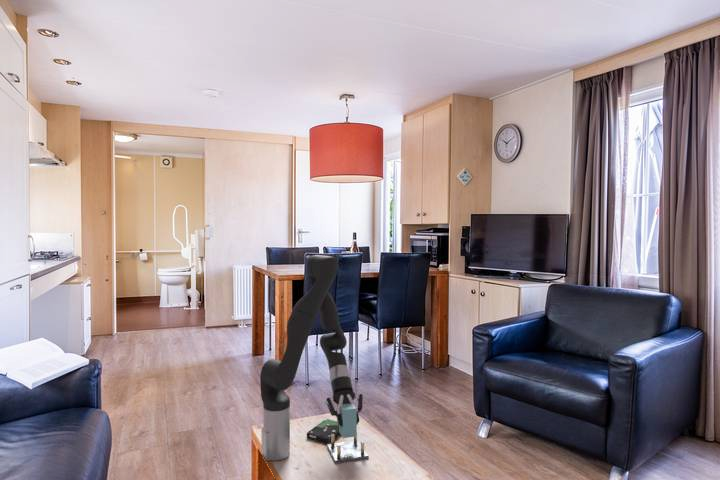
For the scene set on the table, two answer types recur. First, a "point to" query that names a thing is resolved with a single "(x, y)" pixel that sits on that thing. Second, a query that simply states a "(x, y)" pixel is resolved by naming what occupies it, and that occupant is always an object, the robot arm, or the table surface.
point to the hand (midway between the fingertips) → (349, 424)
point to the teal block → (348, 420)
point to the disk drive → (324, 431)
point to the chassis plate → (347, 450)
